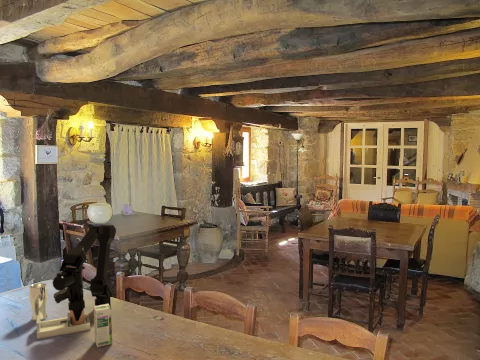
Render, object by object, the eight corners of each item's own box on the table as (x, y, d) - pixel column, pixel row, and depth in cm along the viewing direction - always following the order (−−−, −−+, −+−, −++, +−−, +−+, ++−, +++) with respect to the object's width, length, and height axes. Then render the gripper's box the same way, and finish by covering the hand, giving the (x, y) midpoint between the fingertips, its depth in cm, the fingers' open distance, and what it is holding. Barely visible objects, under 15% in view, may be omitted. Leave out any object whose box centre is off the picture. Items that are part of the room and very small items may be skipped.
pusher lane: (88, 319, 183) (88, 306, 182) (90, 329, 172) (89, 315, 172) (38, 327, 175) (37, 313, 174) (37, 338, 165) (36, 324, 164)
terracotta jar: (84, 318, 179) (83, 300, 179) (85, 324, 174) (84, 305, 173) (70, 321, 177) (69, 302, 176) (70, 326, 172) (69, 307, 171)
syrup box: (97, 347, 157) (95, 310, 156) (94, 341, 162) (93, 305, 161) (112, 344, 160) (111, 307, 159) (109, 338, 165) (108, 302, 164)
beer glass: (35, 323, 179) (34, 289, 178) (27, 319, 183) (26, 286, 182) (51, 317, 185) (49, 285, 183) (43, 314, 189) (41, 281, 187)
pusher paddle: (70, 321, 178) (70, 312, 178) (70, 329, 171) (70, 320, 170) (60, 323, 177) (59, 314, 176) (60, 331, 169) (59, 321, 169)
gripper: (54, 278, 179) (56, 313, 181) (53, 292, 162) (55, 330, 164) (82, 274, 184) (83, 308, 185) (84, 288, 167) (85, 325, 168)
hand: (77, 318), depth 175 cm, fingers closed on terracotta jar, 5 cm apart
